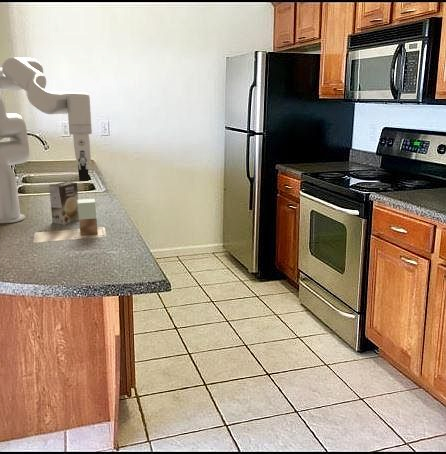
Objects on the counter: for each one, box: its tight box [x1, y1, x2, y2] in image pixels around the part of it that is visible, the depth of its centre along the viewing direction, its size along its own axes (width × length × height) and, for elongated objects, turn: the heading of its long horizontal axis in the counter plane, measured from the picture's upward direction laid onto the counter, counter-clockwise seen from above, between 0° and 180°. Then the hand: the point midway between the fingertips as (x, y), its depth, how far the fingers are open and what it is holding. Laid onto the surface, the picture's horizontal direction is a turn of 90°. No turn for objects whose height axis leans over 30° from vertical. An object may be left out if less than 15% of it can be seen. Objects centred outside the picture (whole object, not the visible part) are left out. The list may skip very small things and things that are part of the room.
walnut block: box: [78, 217, 98, 236], centre depth 182 cm, size 6×6×6 cm
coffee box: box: [48, 181, 79, 225], centre depth 198 cm, size 9×6×16 cm
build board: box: [32, 226, 107, 244], centre depth 181 cm, size 25×13×1 cm, turn 107°
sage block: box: [77, 198, 97, 221], centre depth 180 cm, size 6×6×6 cm
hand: (83, 178), depth 178 cm, fingers open, 9 cm apart
